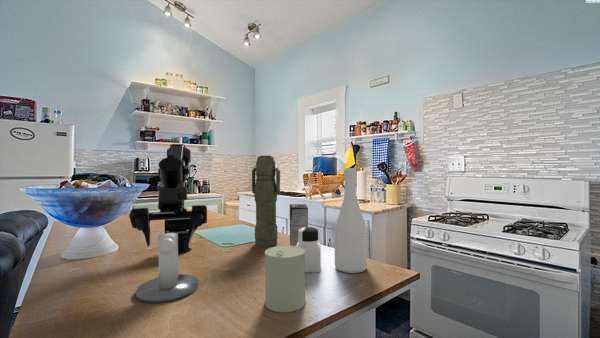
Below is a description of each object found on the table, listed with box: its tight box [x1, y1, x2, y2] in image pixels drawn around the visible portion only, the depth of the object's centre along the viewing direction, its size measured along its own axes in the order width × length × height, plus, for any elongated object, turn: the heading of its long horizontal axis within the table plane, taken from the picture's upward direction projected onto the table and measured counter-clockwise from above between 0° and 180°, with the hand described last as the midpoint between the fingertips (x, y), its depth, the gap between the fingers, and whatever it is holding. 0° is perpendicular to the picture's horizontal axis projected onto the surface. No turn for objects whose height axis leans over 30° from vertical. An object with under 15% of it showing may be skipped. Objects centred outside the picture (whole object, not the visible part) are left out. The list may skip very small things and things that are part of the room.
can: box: [264, 245, 307, 313], centre depth 63 cm, size 9×9×12 cm
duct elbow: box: [157, 232, 179, 289], centre depth 69 cm, size 7×4×12 cm, turn 19°
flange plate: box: [135, 273, 199, 304], centre depth 70 cm, size 14×14×1 cm
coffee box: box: [289, 203, 309, 246], centre depth 105 cm, size 9×6×16 cm
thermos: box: [251, 155, 281, 249], centre depth 110 cm, size 9×12×35 cm
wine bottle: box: [333, 167, 368, 274], centre depth 84 cm, size 10×10×30 cm
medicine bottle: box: [296, 226, 322, 273], centre depth 84 cm, size 7×7×12 cm
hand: (168, 243), depth 71 cm, fingers open, 9 cm apart
